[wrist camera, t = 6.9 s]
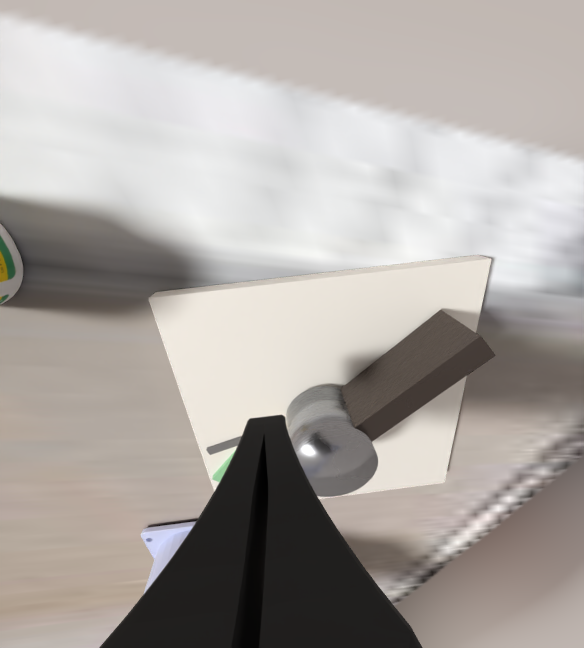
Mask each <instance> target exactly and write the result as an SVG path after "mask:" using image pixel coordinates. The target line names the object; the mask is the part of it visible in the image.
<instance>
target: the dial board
mask: <svg viewBox="0 0 584 648" xmlns="http://www.w3.org/2000/svg"><path fill="white" fill-rule="evenodd" d="M491 260H492V259H491V258H487V257H484V256H480V255H473V256H464V257H455V258H447V259H438V260H429V261H421V262H412V263H403V264H395V265H386V266H377V267H369V268H360V269H351V270H343V271H334V272H325V273H316V274H308V275H299V276H290V277H282V278H273V279H264V280H256V281H247V282H238V283H230V284H221V285H212V286H204V287H195V288H186V289H178V290H169V291H160V292H155V293H154V294H153V295H152V296H151V297H149V298H148V299H149V302H150V305H151V308H152V311H153V314H154V317H155V320H156V323H157V326H158V329H159V332H160V335H161V337H162V340H163V343H164V346H165V349H166V352H167V355H168V358H169V361H170V364H171V367H172V370H173V372H174V375H175V378H176V381H177V384H178V387H179V390H180V393H181V396H182V399H183V402H184V405H185V407H186V410H187V413H188V416H189V419H190V422H191V425H192V428H193V431H194V434H195V437H196V440H197V443H198V445H199V448H200V451H201V454H202V457H203V460H204V463H205V466H206V469H207V472H208V475H209V478H210V480H211V483H212V486H213V489H214V492H215V490H216V488H217V486H218V484H219V482H220V481H221V479H222V477H223V475H224V473H225V471H226V469H227V467H228V465H229V463H230V461H231V459H232V457H233V455H234V453H235V451H236V448H237V446H238V444H239V442H240V439H241V437H242V434H243V432H244V429H245V426H246V423H247V421H248V420H249V419H250V418H258V417H266V416H274V415H283V416H285V419H286V413H287V409H288V407H289V405H290V403H291V402H292V401H293V400H294V399H295V398H296V397H297V396H298V395H299V394H301V393H302V392H304V391H306V390H309V389H312V388H315V387H321V386H330V387H336V388H339V389H341V388H342V387H343V386H345V385H346V384H347V383H348V382H350V381H351V380H352V379H353V378H355V377H356V376H357V375H359V374H360V373H361V372H362V371H364V370H365V369H366V368H367V367H369V366H370V365H371V364H372V363H374V362H375V361H376V360H377V359H379V358H380V357H381V356H383V355H384V354H385V353H386V352H388V351H389V350H390V349H391V348H393V347H394V346H395V345H396V344H398V343H399V342H400V341H402V340H403V339H404V338H405V337H407V336H408V335H409V334H410V333H412V332H413V331H414V330H415V329H417V328H418V327H419V326H420V325H422V324H423V323H424V322H426V321H427V320H428V319H429V318H431V317H432V316H433V315H434V314H436V313H437V312H438V311H439V310H442V311H444V312H445V313H447V314H448V315H450V316H451V317H453V318H454V319H456V320H457V321H459V322H460V323H462V324H463V325H465V326H466V327H468V328H469V329H471V330H472V331H474V332H475V333H476V331H477V326H478V321H479V316H480V312H481V307H482V302H483V297H484V293H485V288H486V283H487V279H488V274H489V269H490V264H491ZM466 378H467V376H465V377H464V378H463V379H461V380H460V381H458V382H457V383H455V384H454V385H453V386H451V387H450V388H448V389H447V390H445V391H444V392H443V393H441V394H440V395H438V396H437V397H435V398H434V399H432V400H431V401H430V402H428V403H427V404H425V405H424V406H422V407H421V408H420V409H418V410H417V411H415V412H414V413H412V414H411V415H410V416H408V417H407V418H405V419H404V420H402V421H401V422H400V423H398V424H397V425H395V426H394V427H392V428H391V429H390V430H388V431H387V432H385V433H384V434H382V435H381V436H380V437H378V438H377V439H375V440H374V441H372V444H373V446H374V448H375V451H376V453H377V456H378V467H377V470H376V472H375V474H374V475H373V477H372V478H371V479H370V480H369V481H368V482H367V483H366V484H365V485H364V486H362V487H361V488H359V489H357V490H355V491H353V492H351V493H348V494H345V495H341V496H347V495H354V494H362V493H369V492H377V491H385V490H392V489H400V488H408V487H415V486H423V485H430V484H438V483H444V482H445V477H446V473H447V468H448V463H449V458H450V454H451V449H452V444H453V440H454V435H455V430H456V425H457V421H458V416H459V411H460V406H461V402H462V397H463V392H464V387H465V383H466ZM286 426H287V424H286ZM317 497H318V499H324V498H331V497H320V496H317ZM335 497H339V496H335Z"/></svg>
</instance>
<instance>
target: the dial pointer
mask: <svg viewBox="0 0 584 648" xmlns="http://www.w3.org/2000/svg"><path fill="white" fill-rule="evenodd" d="M494 356H495V354H494V353H493V352H492V350H491V349H490V348H489V346H488V345H487V344H486V342H485V341H484V340H483V338H482V337H481V336H480V335H478V334H477V333H475V332H474V331H472V330H471V329H469V328H468V327H466V326H465V325H463V324H462V323H460V322H459V321H457V320H456V319H454V318H453V317H451V316H450V315H448V314H447V313H445V312H444V311H442V310H439V311H438V312H437V313H436V314H434V315H433V316H432V317H431V318H429V319H428V320H427V321H426V322H424V323H423V324H422V325H420V326H419V327H418V328H417V329H415V330H414V331H413V332H412V333H410V334H409V335H408V336H407V337H405V338H404V339H403V340H402V341H400V342H399V343H398V344H396V345H395V346H394V347H393V348H391V349H390V350H389V351H388V352H386V353H385V354H384V355H383V356H381V357H380V358H379V359H377V360H376V361H375V362H374V363H372V364H371V365H370V366H369V367H367V368H366V369H365V370H364V371H362V372H361V373H360V374H359V375H357V376H356V377H355V378H353V379H352V380H351V381H350V382H348V383H347V384H346V385H345V386H343V387H342V388H341V389H339V388H336V387H330V386H321V387H315V388H312V389H309V390H306V391H304V392H302V393H301V394H299V395H298V396H297V397H296V398H295V399H294V400H293V401H292V402H291V403H290V405H289V407H288V409H287V413H286V424H287V430H288V433H289V436H290V439H291V442H292V445H293V448H294V450H295V452H296V455H297V457H298V459H299V462H300V464H301V466H302V468H303V470H304V472H305V474H306V476H307V478H308V480H309V482H310V484H311V486H312V488H313V490H314V491H315V493H316V495H317V496H320V497H335V496H341V495H345V494H348V493H351V492H353V491H355V490H357V489H359V488H361V487H362V486H364V485H365V484H366V483H367V482H368V481H369V480H370V479H371V478H372V477H373V475H374V474H375V472H376V470H377V467H378V456H377V453H376V451H375V448H374V446H373V444H372V441H374V440H375V439H377V438H378V437H380V436H381V435H382V434H384V433H385V432H387V431H388V430H390V429H391V428H392V427H394V426H395V425H397V424H398V423H400V422H401V421H402V420H404V419H405V418H407V417H408V416H410V415H411V414H412V413H414V412H415V411H417V410H418V409H420V408H421V407H422V406H424V405H425V404H427V403H428V402H430V401H431V400H432V399H434V398H435V397H437V396H438V395H440V394H441V393H443V392H444V391H445V390H447V389H448V388H450V387H451V386H453V385H454V384H455V383H457V382H458V381H460V380H461V379H463V378H464V377H465V376H467V375H468V374H470V373H471V372H473V371H474V370H475V369H477V368H478V367H480V366H481V365H483V364H484V363H485V362H487V361H488V360H490V359H491V358H493V357H494Z"/></svg>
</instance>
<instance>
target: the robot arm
mask: <svg viewBox="0 0 584 648" xmlns="http://www.w3.org/2000/svg"><path fill="white" fill-rule="evenodd" d="M141 537H142V539H143V541H144V542H145V544H146V546H147V548H148V549H149V551H150V553H151V554H152V556H153V558H154V563H153V566H152V569H151V573H150V576H149V579H148V582H147V585H146V588H145V591H144V594H143V596H142V597H141V598H140V600H139V601H138V602H137V604H136V605H135V606H134V607H133V609H132V610H131V611H130V612H129V614H128V615H127V616H126V617H125V618H124V620H123V621H122V622H121V623H120V624H119V626H118V627H117V628H116V629H115V630H114V631H113V632H112V634H111V635H110V636H109V637H108V638H107V639H106V641H105V642H104V643H103V644H102V645H101V646H100V648H422V646H421V644H420V643H419V641H418V639H417V637H416V635H415V634H414V632H413V630H412V628H411V627H410V625H409V624H408V623H407V621H406V620H405V619H404V618H403V616H402V615H401V614H400V613H399V612H398V610H397V609H396V608H395V607H394V605H393V604H392V603H391V602H390V600H389V599H388V598H387V597H386V595H385V594H384V593H383V592H382V590H381V589H380V588H379V587H378V585H377V584H376V583H375V581H374V580H373V579H372V577H371V576H370V575H369V573H368V572H367V571H366V569H365V568H364V567H363V565H362V564H361V563H360V561H359V560H358V558H357V557H356V555H355V554H354V553H353V551H352V550H351V548H350V547H349V545H348V544H347V543H346V541H345V540H344V538H343V537H342V535H341V534H340V532H339V531H338V529H337V528H336V526H335V525H334V523H333V522H332V520H331V518H330V517H329V515H328V514H327V512H326V510H325V509H324V507H323V505H322V504H321V502H320V500H319V499H318V497H317V495H316V493H315V491H314V490H313V488H312V486H311V484H310V482H309V480H308V478H307V476H306V474H305V472H304V470H303V468H302V466H301V464H300V462H299V459H298V457H297V455H296V452H295V450H294V448H293V445H292V442H291V439H290V436H289V433H288V430H287V426H286V419H285V416H283V415H274V416H266V417H258V418H250V419H249V420H248V421H247V423H246V426H245V429H244V432H243V434H242V437H241V439H240V442H239V444H238V446H237V448H236V451H235V453H234V455H233V457H232V459H231V461H230V463H229V465H228V467H227V469H226V471H225V473H224V475H223V477H222V479H221V481H220V482H219V484H218V486H217V488H216V490H215V492H214V493H213V495H212V497H211V499H210V500H209V502H208V504H207V505H206V507H205V509H204V510H203V512H202V514H201V515H200V517H199V518H198V520H197V521H195V522H187V523H179V524H172V525H164V526H157V527H149V528H145V529H143V531H142V533H141Z"/></svg>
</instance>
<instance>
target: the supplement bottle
mask: <svg viewBox="0 0 584 648" xmlns="http://www.w3.org/2000/svg"><path fill="white" fill-rule="evenodd" d="M22 279H23V264H22V260H21V256H20V254H19V252H18V250H17V247H16V245H15V243H14V241H13V239H12V238H11V236H10V235H9V233H8V232H7V231H6V229H5V228H4V227H3V226H2V225H1V224H0V304H2V303H4V302H6V301H8V300H9V299H10V298H12V297H13V296H14V295H15V293H16V292H17V291H18V289H19V287H20V286H21V283H22Z"/></svg>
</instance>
